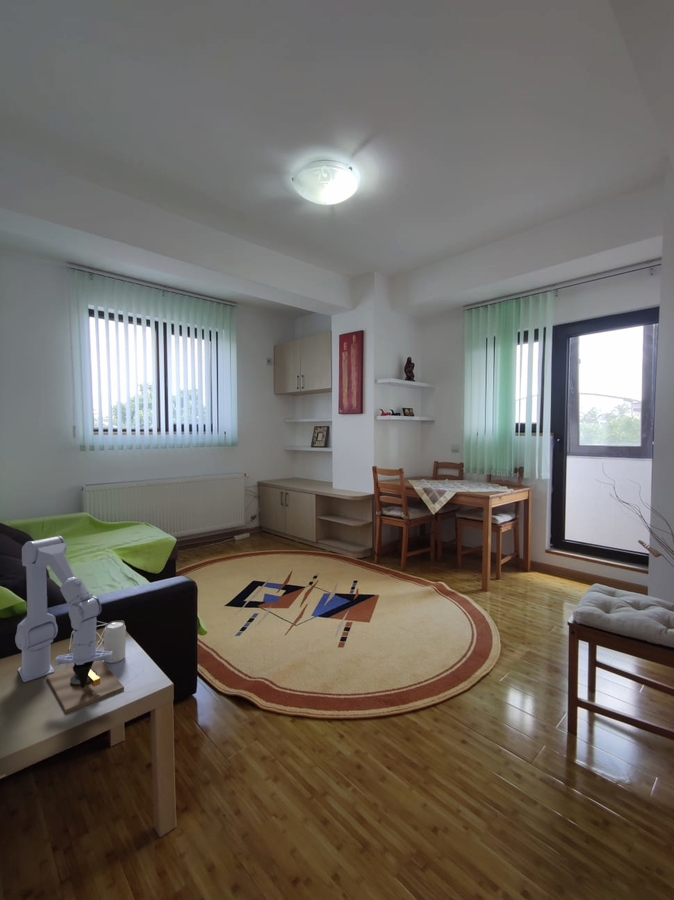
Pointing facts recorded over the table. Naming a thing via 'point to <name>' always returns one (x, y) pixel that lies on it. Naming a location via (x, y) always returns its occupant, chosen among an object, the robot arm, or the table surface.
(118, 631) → the can
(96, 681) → the lever door handle
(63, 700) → the stand
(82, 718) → the table surface
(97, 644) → the geometric polyhedron
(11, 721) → the table surface
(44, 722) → the table surface
